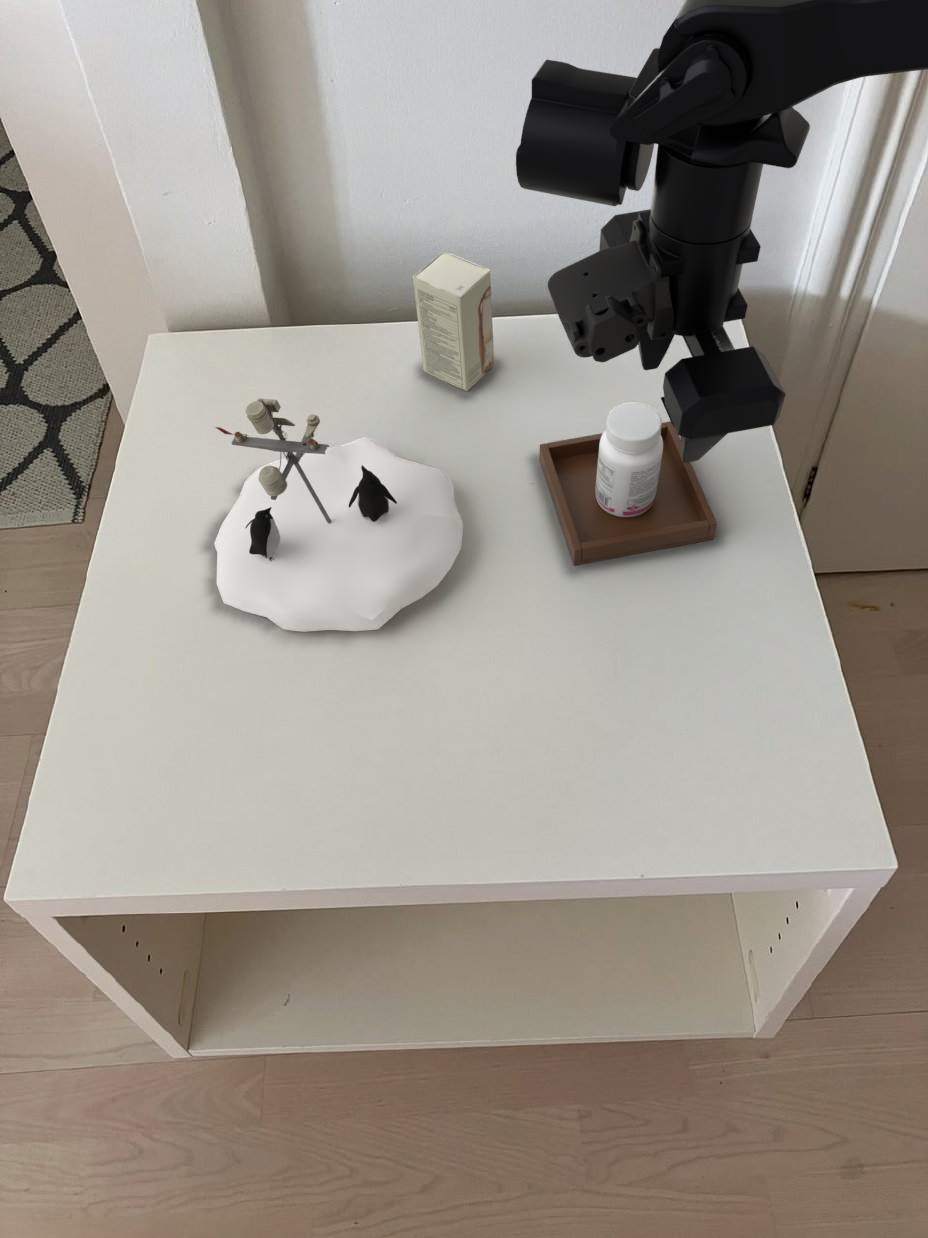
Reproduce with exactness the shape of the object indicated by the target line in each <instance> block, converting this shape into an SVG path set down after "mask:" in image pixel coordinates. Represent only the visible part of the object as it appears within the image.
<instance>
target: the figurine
mask: <svg viewBox="0 0 928 1238" xmlns="http://www.w3.org/2000/svg"><path fill="white" fill-rule="evenodd" d="M281 408H282V407H281V405H280V403H279V401H278V400H277V399H271V398H257V400H255V401H252V402H250V403H249V404H248V405H247V406H246V408H245V414H246V417H247V419H248V421H250V423H251V425H252V426H253V428H254V429H255V431H256V433H257V434H259V435H266V434H269V433H270V432H272V431H273V433H274V434H275V435H276V436H277V437H278V439H276V438H275V439H273V438H264V437H255V436H250V435H248V434H247V433H242V432H240V431H235V433H231V432H230V431H228V430H226V429H224V428H222V427H220V426H215V427H214V428H215V429H217V430H218V431H219V432H221V433H223V434H224V435H229V436H233V435H234V437H233V439H232V441H231V445H232V446H237V447H238V446H239V447H244V448H252V449H259V450H266V451H272V452H279V453H280V455H279V456H282V453H283V456H284V457H280V458H279V459H277V460H274V461H272V462H270V463H267V464H265V465H262V466H259V467H257V468H256V470H255V471H254V472H253V473H252V474H251V475H250V476H249V477H248V478H247V479H246V480H245V481H244V483H243V486H242V488H241V490H240V494H239V496H238V498H237V500H236V501H235V503H234V505H233V506H232V507H231V509H230V511H229V512H228V514H226V515H227V516H226V517H225V518H224V520H223V522H222V523H221V525H220V527H219V531H218V533H217V535H216V538H215V540H214V543H213V545H214V548H215V551H216V554H217V555H216V583H215V584H216V587H217V589H218V593H219V595H220V597H221V599H222V603H223V604H225V605H227V606H230V607H232V608H235V609H237V610H239V611H242V612H244V613H248V614H251V615H252V614H253V615H256V616H260V617H265V618H266V619H268V620H269V621H271V622H272V623H274V624H275V625H277V626H278V627H279V628H280V629H282V630H283V631H284V630H285V631H293V632H301V633H302V632H304V633H305V632H307V633H308V632H317V631H329V630H331V631H345V632H346V631H347V632H360V631H373V630H374V631H377V630H379V629H380V628H382V627H383V626H384V625H385V624H386V623H387V622H388V621H390V620H391V618H393V617H394V616H395V615H396V614H397V613H399V611H401V610H402V609H403V608H406V607H407V606H409V605H411V604H412V603H415V602H417V601H419V600H420V599H422V598H424V597H425V595H428V594H429V593H430V592H431V591H432V590H434V589H435V588H436V587H438V585H440V584H441V581H442V580H443V579H444V578H445V577H446V575H447V574H448V573H449V571H450V570H451V568H453V565H454V564H455V561H456V559H457V558H458V555H459V553H460V551H461V549H462V543H463V533H464V523H463V522H464V521H463V520H462V517H461V515H460V512H459V510H458V508H457V505H456V502H455V486H454V484H453V482H452V481H451V479H450V478H449V476H448V475H447V473H446V471H444V470H442V469H438V468H436V467H432V466H429V465H426V464H422V463H419V462H415V461H412V460H409V459H405V458H401V457H398V456H397V455H396V454H395V453H394V452H392V450H390V449H388V448H387V447H386V446H383V445H382V444H380V443H378V442H377V441H375V440H374V439H372V438H370V437H368V436H362V437H360V438H357V439H355V440H352V441H350V442H347V443H344V444H341V445H337V446H331V447H330V445H329V444H325V443H319V442H318V441H317V440H315V439H314V437H315V432H316V429H317V427H318V426H319V425H320V423H321V419H320V417H319V416H318V415H317V414H309V415H308V416H307V419H306V423H307V425H306V429H305V432H304V435H303V437H302V439H301V441H296V440H295V441H293V440H287V439H288V437H287V435H288V434H287V432H286V431H285V430H283V429H282V426H286V427H288V426H289V427H296V424H295V423H293V422H292V421H290V420H289V419H287V418H285V417H274V413H279V412H280V410H281Z"/></svg>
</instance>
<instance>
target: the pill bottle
mask: <svg viewBox="0 0 928 1238" xmlns="http://www.w3.org/2000/svg"><path fill="white" fill-rule="evenodd" d="M662 423H663V422H662V417H661V415H660V414H659V412H658V411H657V410H656V409H655V408H654V407H653V406H651V405H649V404H647V403H644V402H640V401H628V402H627V401H626V402H622V403H621V404H618V405H616V406H614V407H613V408H612V409H611V410H610V411H609V413H608V415H607V418H606V424H605V429H604V431H603V432H602V433H603V434H602V436H601V439H600V444H599V455H598V465H597V477H596V488H595V494H596V499H597V502H598V504H599V505H600V507H601V508H602V509H603V510H605V511H606V512H608V513H610V514H612V515H615V516H618V517H635V516H638V515H641V514H643V513H644V512H646V511H647V510H648V509H649V508H650V507H651V505H652V504H653V502H654V499H655V495H656V490H657V484H658V478H659V472H660V466H661V459H662V453H663V440H662V437H661V425H662Z"/></svg>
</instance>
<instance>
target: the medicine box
mask: <svg viewBox="0 0 928 1238" xmlns="http://www.w3.org/2000/svg"><path fill="white" fill-rule="evenodd" d="M412 281H413V291H414V298H415V299H414V300H415V309H416V316H417V324H418V334H419V341H420V352H421V357H422V358H421V359H422V369H423V371H424V372H425V373H427V374H429V375H431V376H433V377H434V378H437V379H439V380H441V381H443V382H445V383H448V384H450V385H452V386H454V387H456V388H458V389H461V390H463V391H465V392H467V391H469V390H470V389H471V388H472V387H473V386H474V385H476V383H478V382H479V381H480V380H481V379H482V378H483V377H484V376H485V375H486V374H487V373H488V372H489V371H490V370H491V369H492V368H493V367H494V366H495V350H494V331H493V327H494V326H493V304H492V303H493V302H492V282H491V281H492V280H491V270H490V269H489V268H487V267H485V266H483V265H480V264H478V263H476V262H473V261H470V260H468V259H466V258H463V257H461V256H458V255H456V254H453V253H450V252H448V251H446V250H445V251H442V252H441V253H439V254H438V255H437V256H436V257H434V258H433V259H432V260H431V261H429V262H428V263H427V264H426V265H425V266H423V267H422V268H421V269H420V270H419V271H417V272H416V273H415V274H413V276H412Z"/></svg>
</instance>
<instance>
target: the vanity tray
mask: <svg viewBox="0 0 928 1238" xmlns="http://www.w3.org/2000/svg"><path fill="white" fill-rule="evenodd" d="M603 433H604V432H601V433H597V434H590V435H585V436H578V437H573V438H568V439H562V440H557V441H550V442H547V443H546V442H545V443H541V444H539V456H538V460H539V464H540V466H541V469H542V473H543V476H544V478H545V481H546V485H547V488H548V491H549V494H550V497H551V501H552V504H553V506H554V510H555V513H556V515H557V519H558V523H559V525H560V528H561V532H562V534H563V537H564V540H565V543H566V547H567V550H568V553H569V555H570V559H571V562H572V565H573V566H579V565H584V564H590V563H594V562H601V561H606V560H610V559H615V558H621V557H627V556H632V555H638V554H642V553H648V552H653V551H659V550H663V549H669V548H676V547H681V546H686V545H690V544H691V545H692V544H696V543H701V542H707V541H712V540H714V539H715V535H716V531H717V527H718V523H717V521H716V518H715V515H714V513H713V510H712V509H711V507H710V504H709V502H708V499H707V497H706V495H705V493H704V490H703V488H702V486H701V484H700V481H699V479H698V477H697V475H696V472H695V470H694V468H693V465H692V462H688V463H684V462H683V460H682V455H681V437H680V435H678V433H677V431H676V429H675V428H674V427H673V425H672V423H671V421H670V420H669V421H664V422H662V425H661V437H662V440H663V453H662V459H661V466H660V472H659V478H658V484H657V490H656V495H655V499H654V502H653V504H652V505H651V507H650V508H649V509H648V510H647V511H646V512H644V513H643V514H641V515H638V516H635V517H618V516H615V515H612V514H610V513H608V512H606V511H605V510H603V509H602V508H601V507H600V505H599V504H598V502H597V499H596V494H595V488H596V477H597V465H598V455H599V444H600V439H601V436H602V434H603Z"/></svg>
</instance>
